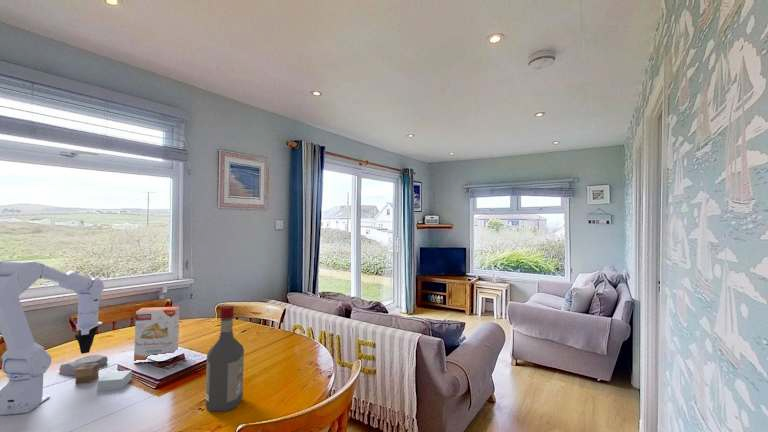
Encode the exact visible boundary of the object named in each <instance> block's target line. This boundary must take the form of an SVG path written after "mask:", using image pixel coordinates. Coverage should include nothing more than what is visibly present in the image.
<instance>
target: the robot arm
mask: <svg viewBox="0 0 768 432" xmlns="http://www.w3.org/2000/svg"><path fill="white" fill-rule="evenodd" d="M39 279H44V280H48V281H51V282H52V281H53V282H56V283H57V284H58V286H59V287H60V288H62V289H66V290H69V291H73V292H74V293H75V294H76V295H78V301H77V302H78V303H77V319H76V320H77V321H76V322H77V323H76V327H75V328H77V330H79V333H75V334H74V338H75V339H76V340H77V343H78V346H79V350H80V354H81V355H82V354H88V353H90V351H91V348H92V345H93V343H94V339H95V336H96V334H97V330H99V329H98V328H99V327H100V326H101V325H103V321H99V309H100V308H99V307H100V299H101V296H102V292H103V291H104V289H105V284H104V282H103V281H102V280H101V279H100V278H92V277H91V276H90V275H89V274H85V275H84V274H81V273H80V271H78V270H71V271H67V272H64V271H61V270H59V269H56V268H54V267H51V266H49V265H46V264H45V263H42V262H37V261H32V260H31V261H14V260H13V261H10V260H1V261H0V333H1V336H2V337H3V341H4V343H5V347H6V349H7V350H6V351H5V352H4V353H3V354H2V355H1V360H2V362H1V363H2V365H1V370H2V372H3V373H4V374H6V378H7V379H8V382H7V383H6V385H5V386H3V387H2V388H1V389H0V416H7V415H18V414H27V413H29V412H31V411H32V410H34V409H35V408H36V407H37V406H39V405H41V404H42V403H43V402H45V401H46V400H48V399H49V398H50V397H51V395H43V391H44V374H45V373H47V370H48V369H49V367H50V366H51V363H52V355H51V354H50V353H48V352H47V351H46V350H45V347H43V346H42V345H40V344H39V343H37V342H36V341H35V339H34V337H33V334H32V333H33V332H32V331H31V328H30V325H29V322H28V320H27V316H26V314H25V311H24V308H23V305H22V303H21V300H20V298H19V297H20V295H21V294H23V293H25V292H26V291H27V290H28V289H29V288H30V287H31V286H33V285H34V284H35V283H36V282H37V281H38V280H39Z"/></svg>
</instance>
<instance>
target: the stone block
mask: <svg viewBox="0 0 768 432" xmlns="http://www.w3.org/2000/svg"><path fill="white" fill-rule="evenodd" d="M108 360H109V359H108V357H107V356H105V355H102V354H90V355H86V356H83V357H80V358H78V359H76V360H74V361H71V362H66V363H64V364H61V365H60V367H59V374H61V375H67V376H75V377H76V369H78V368H79V367H81V366H82V365H84V364H95V363H99V368H100V367H102V366H105V365H106V364H107V363H108Z"/></svg>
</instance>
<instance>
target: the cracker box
mask: <svg viewBox="0 0 768 432" xmlns="http://www.w3.org/2000/svg"><path fill="white" fill-rule="evenodd" d="M134 328H135V329H134V349H133V353H134V354H133V362H134V361H136V360H146V359H147V357H148V356H150V355H158V354H166V353H174V352H175V351H176V350H178V351H179V334H180V333H179V332H180V331H179V328H180V306H163V307H161V306H160V307H159V306H158V307H142V308H140V309H138V310H136V311H135V325H134Z"/></svg>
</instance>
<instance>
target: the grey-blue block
mask: <svg viewBox="0 0 768 432" xmlns="http://www.w3.org/2000/svg"><path fill="white" fill-rule="evenodd" d="M132 374H133V371H132V369H131V370H129V369H128V370H119V371H108V372H107V373H106V374H105V375H103V376H102V377H101V378H100V379H98V380H97V382H96V383H97V384H96V391H97V392H99V391H112V390H122V389H123V388H124V387H125V386H126V385H127V384H128V383H130V381H132V376H133V375H132Z"/></svg>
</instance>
